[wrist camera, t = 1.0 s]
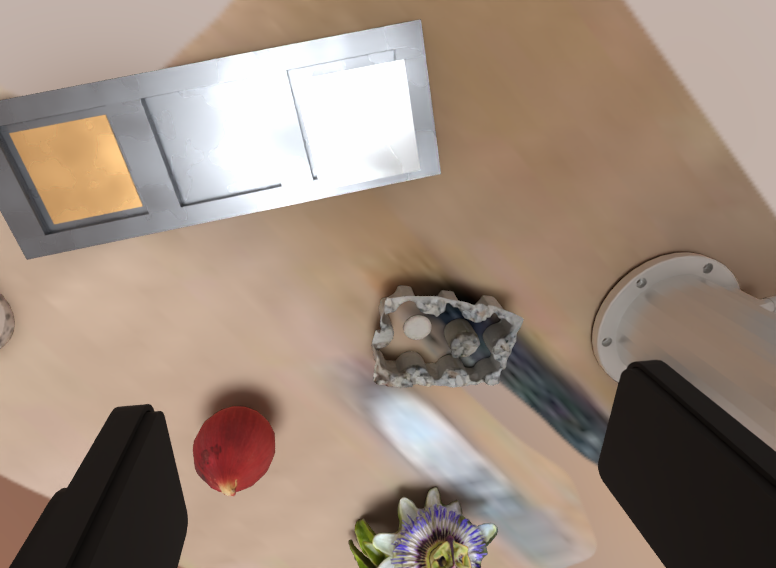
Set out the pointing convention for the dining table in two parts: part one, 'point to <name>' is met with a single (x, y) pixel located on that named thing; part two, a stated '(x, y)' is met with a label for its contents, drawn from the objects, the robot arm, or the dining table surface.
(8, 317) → the mug
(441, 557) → the passion flower
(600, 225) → the dining table surface
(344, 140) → the block
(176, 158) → the rail
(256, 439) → the onion
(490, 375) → the egg carton
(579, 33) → the dining table surface
